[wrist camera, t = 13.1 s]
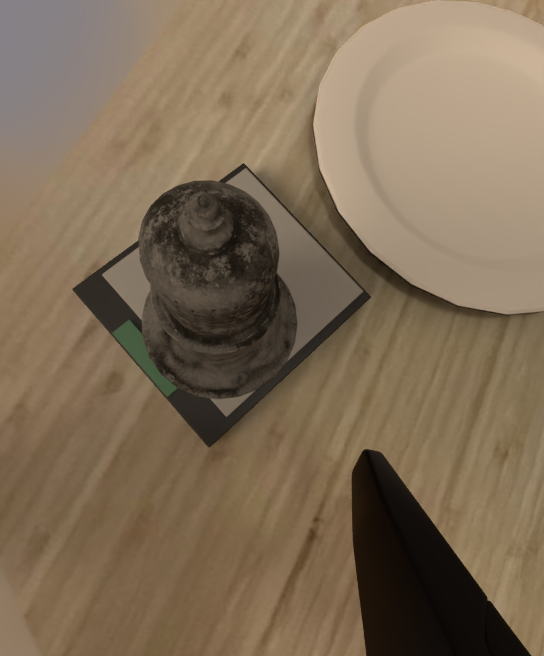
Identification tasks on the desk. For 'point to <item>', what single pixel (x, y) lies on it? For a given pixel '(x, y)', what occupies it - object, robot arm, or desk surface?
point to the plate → (442, 150)
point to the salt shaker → (214, 291)
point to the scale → (293, 267)
